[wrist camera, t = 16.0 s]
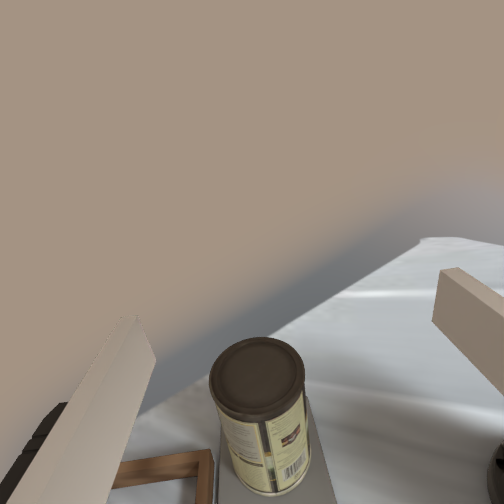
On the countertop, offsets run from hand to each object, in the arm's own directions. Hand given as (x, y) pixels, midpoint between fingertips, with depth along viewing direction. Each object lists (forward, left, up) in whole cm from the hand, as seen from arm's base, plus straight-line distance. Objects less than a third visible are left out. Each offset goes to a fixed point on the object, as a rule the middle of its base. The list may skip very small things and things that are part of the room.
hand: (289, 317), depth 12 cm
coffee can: (+3, -12, -30) cm, 32 cm away
